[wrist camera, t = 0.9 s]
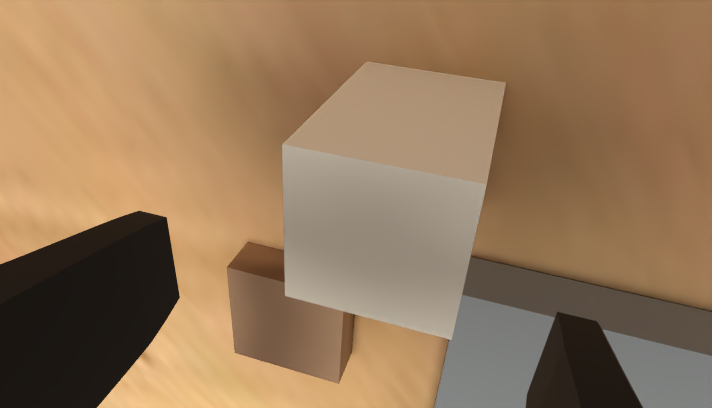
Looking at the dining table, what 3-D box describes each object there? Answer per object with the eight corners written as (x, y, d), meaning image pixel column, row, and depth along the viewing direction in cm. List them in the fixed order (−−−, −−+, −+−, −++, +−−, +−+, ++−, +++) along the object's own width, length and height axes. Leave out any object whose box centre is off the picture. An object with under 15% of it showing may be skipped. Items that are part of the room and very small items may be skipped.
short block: (361, 263, 19) (344, 297, 18) (353, 346, 22) (338, 383, 20) (252, 237, 20) (226, 267, 19) (256, 319, 23) (234, 352, 21)
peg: (506, 82, 14) (486, 184, 9) (479, 204, 16) (451, 340, 11) (366, 61, 15) (282, 144, 10) (358, 179, 17) (285, 295, 12)
